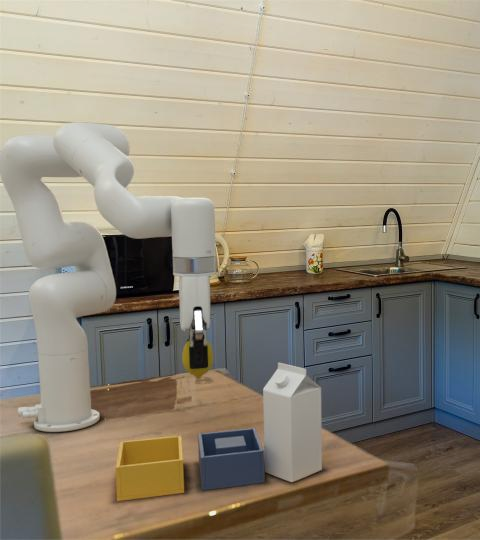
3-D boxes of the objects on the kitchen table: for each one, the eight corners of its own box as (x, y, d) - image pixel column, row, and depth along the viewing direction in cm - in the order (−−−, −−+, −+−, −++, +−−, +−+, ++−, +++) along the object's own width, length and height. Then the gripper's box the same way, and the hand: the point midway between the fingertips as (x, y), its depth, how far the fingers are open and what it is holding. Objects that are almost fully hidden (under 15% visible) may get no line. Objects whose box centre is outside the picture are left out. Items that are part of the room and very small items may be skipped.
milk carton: (295, 461, 132) (293, 358, 130) (322, 470, 127) (321, 365, 125) (264, 473, 126) (262, 366, 124) (292, 483, 122) (290, 373, 120)
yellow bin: (117, 501, 115) (115, 467, 115) (121, 472, 127) (120, 441, 126) (184, 492, 118) (183, 459, 118) (182, 465, 130) (181, 435, 129)
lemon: (205, 383, 131) (204, 339, 130) (177, 381, 132) (175, 338, 131) (219, 375, 136) (217, 333, 135) (191, 373, 137) (190, 332, 136)
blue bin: (202, 490, 119) (200, 457, 119) (198, 463, 131) (197, 433, 130) (264, 482, 122) (263, 450, 122) (256, 457, 134) (255, 427, 133)
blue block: (217, 476, 123) (216, 448, 123) (215, 466, 128) (214, 438, 127) (247, 473, 125) (246, 445, 124) (244, 462, 130) (243, 435, 129)
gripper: (171, 262, 138) (174, 355, 140) (174, 272, 122) (178, 377, 124) (212, 260, 141) (214, 352, 143) (220, 270, 124) (223, 373, 127)
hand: (197, 362), depth 133 cm, fingers closed on lemon, 5 cm apart
